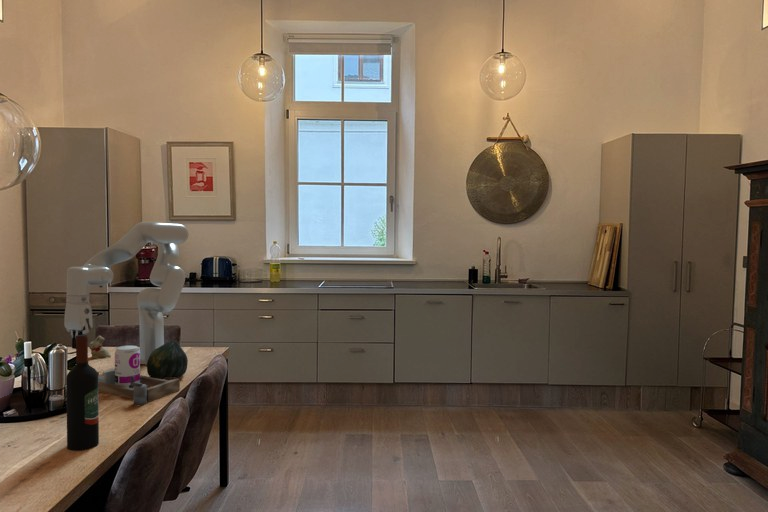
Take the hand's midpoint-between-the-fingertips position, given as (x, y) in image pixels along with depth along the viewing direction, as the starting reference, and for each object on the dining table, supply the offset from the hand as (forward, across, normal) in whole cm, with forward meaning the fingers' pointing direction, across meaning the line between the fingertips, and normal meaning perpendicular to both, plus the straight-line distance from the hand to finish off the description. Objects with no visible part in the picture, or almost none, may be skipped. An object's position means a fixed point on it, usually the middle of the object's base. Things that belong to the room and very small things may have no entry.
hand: (77, 348), depth 207 cm
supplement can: (+12, -25, -1) cm, 28 cm away
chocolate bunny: (+12, +21, -27) cm, 36 cm away
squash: (+12, -27, -18) cm, 35 cm away
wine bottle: (+13, -55, +40) cm, 69 cm away
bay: (+12, -31, +1) cm, 33 cm away
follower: (+12, -13, -1) cm, 17 cm away
